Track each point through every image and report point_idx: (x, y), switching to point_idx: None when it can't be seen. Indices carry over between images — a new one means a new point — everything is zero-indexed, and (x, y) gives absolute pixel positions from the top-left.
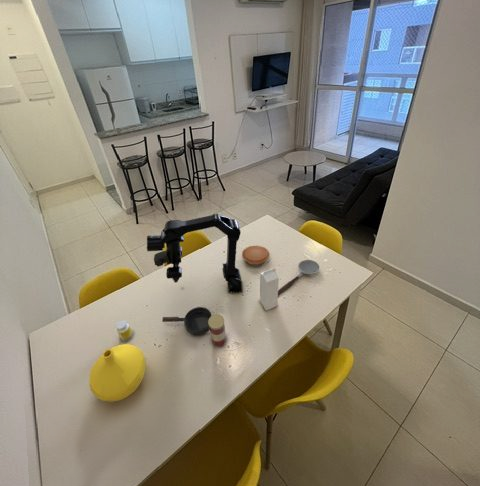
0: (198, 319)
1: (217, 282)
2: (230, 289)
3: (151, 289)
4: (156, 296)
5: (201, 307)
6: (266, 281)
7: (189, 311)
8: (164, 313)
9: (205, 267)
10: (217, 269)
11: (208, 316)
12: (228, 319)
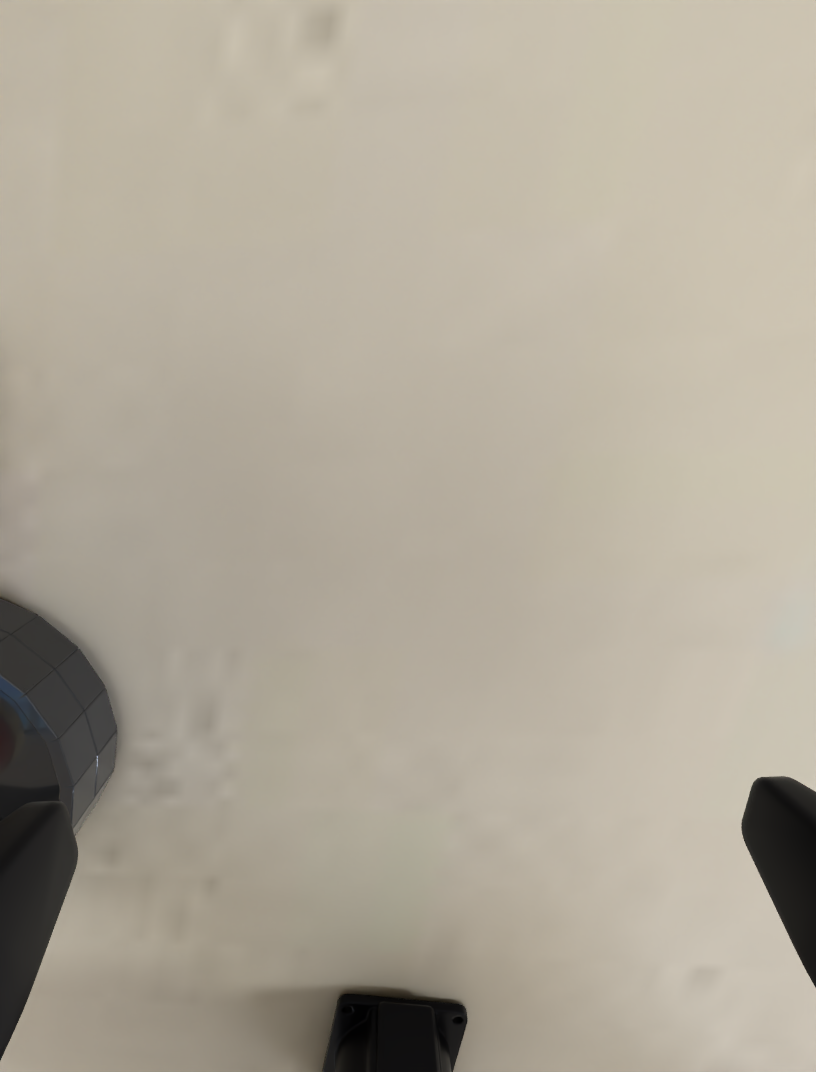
0: (13, 722)
1: (505, 901)
2: (368, 1017)
3: (628, 75)
4: (469, 172)
5: None
6: None
7: (2, 689)
8: (150, 313)
9: None
10: (695, 908)
11: None
12: None
